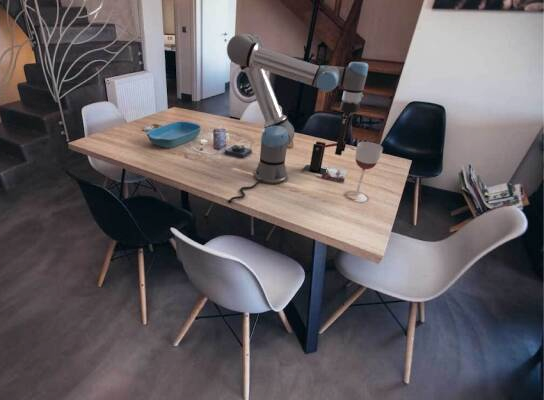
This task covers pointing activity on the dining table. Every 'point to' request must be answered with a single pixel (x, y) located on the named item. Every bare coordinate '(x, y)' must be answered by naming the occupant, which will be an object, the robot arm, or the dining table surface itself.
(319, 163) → the bracket
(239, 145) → the button
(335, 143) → the lever
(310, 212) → the dining table surface
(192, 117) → the dining table surface
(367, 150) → the wineglass
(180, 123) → the casserole dish
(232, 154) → the button box
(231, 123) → the dining table surface
